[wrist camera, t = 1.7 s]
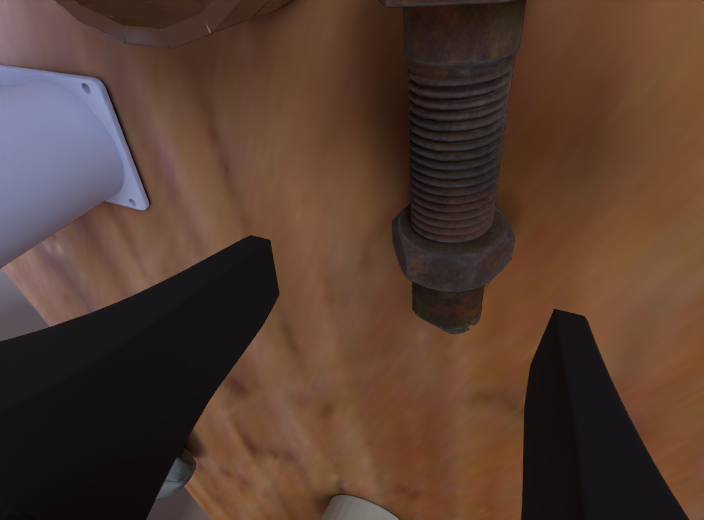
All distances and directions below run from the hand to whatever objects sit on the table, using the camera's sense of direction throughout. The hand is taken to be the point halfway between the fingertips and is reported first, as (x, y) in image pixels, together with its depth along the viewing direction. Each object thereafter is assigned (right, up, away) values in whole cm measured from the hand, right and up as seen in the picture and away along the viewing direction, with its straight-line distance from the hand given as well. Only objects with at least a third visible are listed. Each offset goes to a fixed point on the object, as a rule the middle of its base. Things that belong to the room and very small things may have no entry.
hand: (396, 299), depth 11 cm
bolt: (+3, +6, +7) cm, 9 cm away
